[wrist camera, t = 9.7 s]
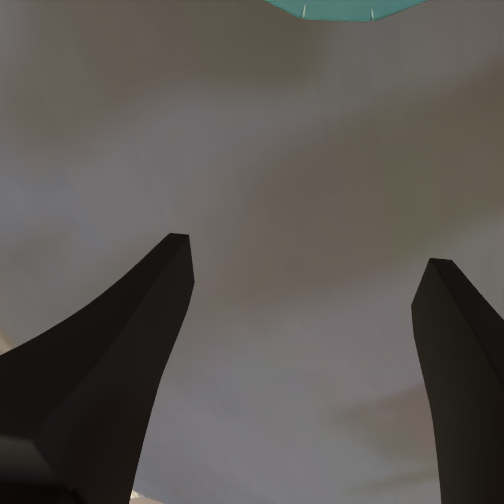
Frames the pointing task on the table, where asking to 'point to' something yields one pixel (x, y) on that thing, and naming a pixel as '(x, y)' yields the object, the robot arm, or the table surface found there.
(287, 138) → the table surface
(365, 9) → the cup
